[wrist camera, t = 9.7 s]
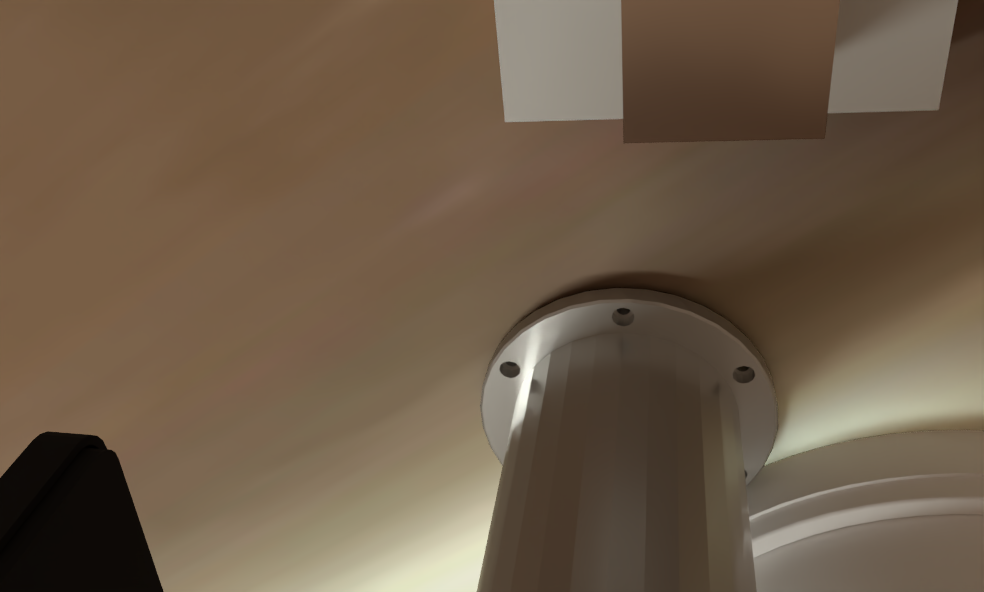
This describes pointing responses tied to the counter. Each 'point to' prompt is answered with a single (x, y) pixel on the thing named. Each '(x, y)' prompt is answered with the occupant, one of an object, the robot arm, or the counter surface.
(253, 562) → the counter surface
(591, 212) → the counter surface
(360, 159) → the counter surface
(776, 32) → the walnut bar
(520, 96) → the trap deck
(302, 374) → the counter surface
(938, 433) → the dome cover
